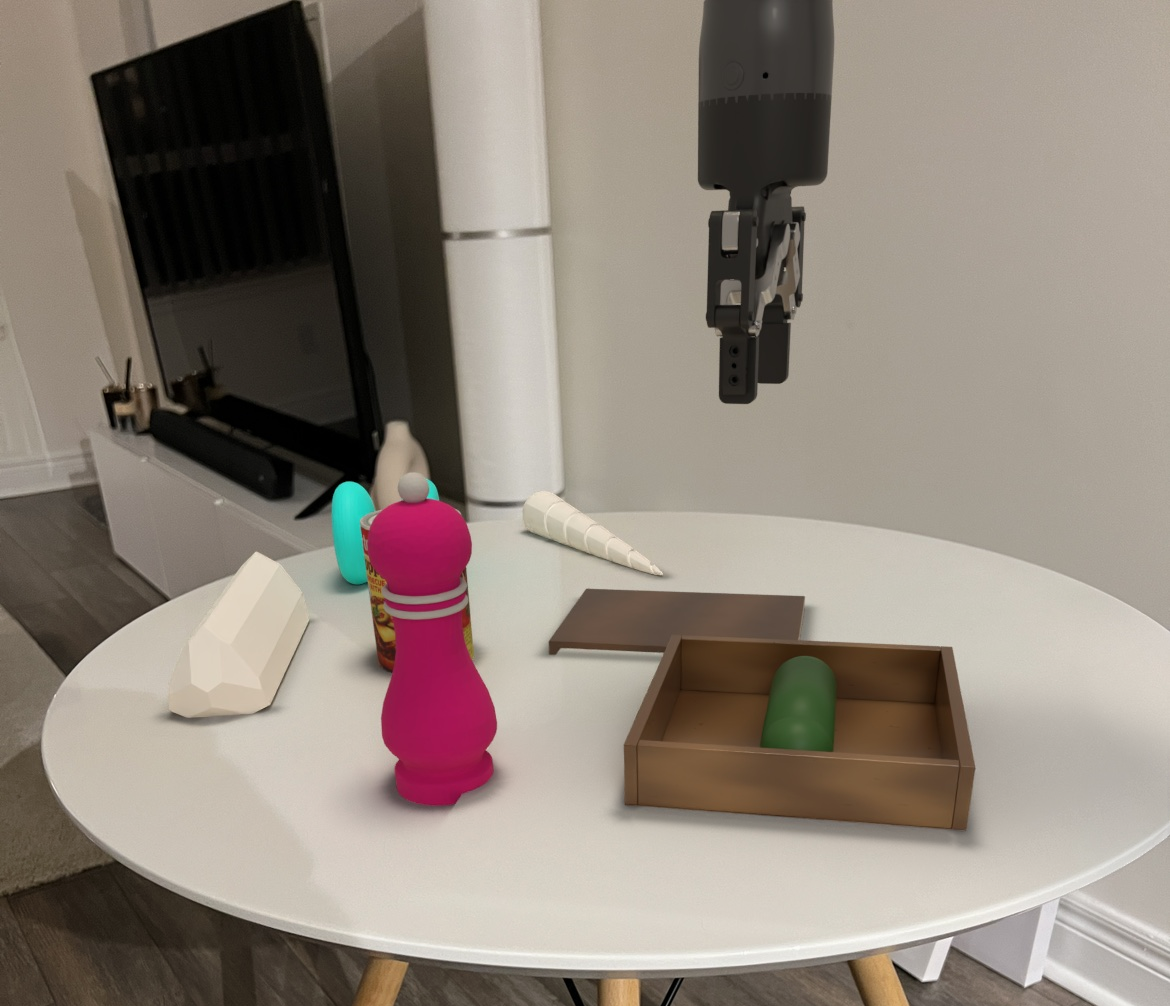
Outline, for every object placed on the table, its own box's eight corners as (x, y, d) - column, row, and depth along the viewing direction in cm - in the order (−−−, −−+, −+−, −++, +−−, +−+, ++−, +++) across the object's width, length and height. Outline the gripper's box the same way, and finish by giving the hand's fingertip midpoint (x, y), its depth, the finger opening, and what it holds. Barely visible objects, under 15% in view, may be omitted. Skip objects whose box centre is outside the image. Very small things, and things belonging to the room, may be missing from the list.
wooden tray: (944, 712, 78) (952, 646, 76) (964, 845, 62) (975, 766, 60) (671, 697, 82) (671, 634, 80) (624, 818, 66) (623, 744, 64)
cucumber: (772, 703, 78) (774, 645, 76) (835, 706, 77) (839, 647, 75) (755, 795, 66) (757, 729, 64) (829, 800, 65) (834, 734, 63)
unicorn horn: (630, 587, 107) (629, 537, 104) (520, 535, 125) (518, 493, 123) (671, 578, 109) (671, 530, 106) (557, 528, 127) (555, 486, 125)
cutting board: (804, 611, 98) (805, 595, 98) (795, 670, 86) (796, 652, 86) (586, 603, 103) (585, 588, 102) (549, 658, 91) (548, 641, 90)
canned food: (358, 667, 90) (338, 522, 85) (424, 638, 96) (409, 500, 90) (428, 686, 86) (412, 535, 81) (493, 655, 92) (481, 511, 86)
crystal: (283, 674, 79) (328, 575, 100) (185, 631, 77) (252, 540, 98) (246, 757, 82) (298, 644, 103) (151, 718, 80) (224, 611, 101)
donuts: (442, 592, 107) (432, 489, 103) (339, 598, 107) (324, 495, 102) (447, 563, 116) (437, 467, 111) (351, 568, 116) (338, 472, 111)
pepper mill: (424, 755, 75) (388, 457, 66) (520, 769, 73) (497, 461, 63) (368, 804, 69) (321, 483, 60) (471, 821, 67) (438, 490, 58)
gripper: (804, 78, 55) (788, 413, 63) (853, 96, 67) (835, 377, 74) (662, 89, 58) (663, 409, 65) (733, 105, 70) (727, 376, 77)
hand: (755, 392), depth 70 cm, fingers open, 8 cm apart
